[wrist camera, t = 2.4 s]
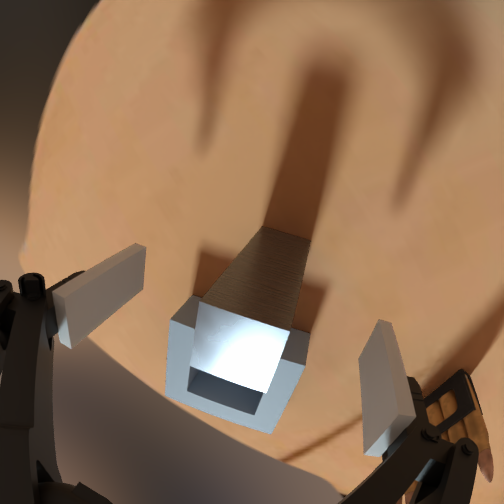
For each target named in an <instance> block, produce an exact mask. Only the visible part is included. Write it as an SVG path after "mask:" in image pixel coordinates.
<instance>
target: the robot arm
mask: <svg viewBox="0 0 504 504" xmlns="http://www.w3.org/2000/svg"><path fill="white" fill-rule="evenodd" d="M145 257H146V247H145V246H142V245H139V244H136V243H135V244H133V245H131V246H129V247H127V248H126V249H124V250H122V251H120V252H118V253H117V254H115V255H113V256H111V257H110V258H108V259H106V260H104V261H102V262H101V263H99V264H97V265H96V266H94V267H92V268H90V269H89V270H87V271H80V272H76V273H74V274H72V275H70V276H68V278H65V279H63V280H62V281H60V282H58V283H56V284H55V285H53V286H51V287H50V288H48V289H45V280H44V277H43V276H42V275H41V274H39V273H27V274H24V275H22V276H21V277H20V278H19V279H18V283H19V289H20V293H16V292H13V288H12V284H11V282H9V281H7V280H0V375H1V373H2V378H1V384H0V504H112V503H111V502H110V501H109V500H108V499H107V498H105V497H103V496H102V495H100V494H98V493H97V492H95V491H93V490H92V489H90V488H88V487H87V486H85V485H83V484H82V483H81V482H79V483H78V484H77V486H74V485H70V484H66V483H63V482H62V479H61V476H60V473H59V470H58V466H57V461H56V452H55V442H54V428H53V403H52V377H53V352H54V338H53V336H54V335H55V334H56V333H59V339H60V342H61V343H62V344H64V345H66V346H67V347H69V348H70V349H72V348H73V347H75V346H76V345H77V344H78V343H79V342H80V341H81V340H83V339H84V338H85V337H86V336H87V335H89V334H90V333H91V332H92V331H93V330H94V329H96V328H97V327H98V326H99V325H100V324H102V323H103V322H104V321H105V320H106V319H108V318H109V317H110V316H111V315H112V314H113V313H115V312H116V311H117V310H118V309H119V308H121V307H122V306H123V305H124V304H126V303H127V302H128V301H129V300H130V299H132V298H133V297H134V296H135V295H136V294H138V293H139V292H140V291H141V290H143V284H144V269H145ZM2 370H3V372H2ZM359 370H360V383H361V397H362V416H363V446H364V455H369V456H377V457H380V456H381V455H382V454H383V453H384V452H385V451H386V450H387V453H388V457H387V458H386V459H385V460H384V461H383V462H382V463H381V464H380V465H379V466H378V467H377V468H376V469H375V470H374V471H373V472H372V473H371V474H370V475H369V476H368V477H367V478H366V479H365V480H364V481H363V482H362V483H361V484H359V485H358V486H357V487H356V488H355V489H354V490H353V491H352V492H351V493H349V494H348V495H347V496H346V497H345V498H344V499H342V500H341V501H340V502H339V503H338V504H396V503H397V502H398V500H399V499H400V498H401V497H402V496H403V494H404V493H405V492H406V491H407V490H408V488H409V487H410V486H411V484H412V483H413V482H414V481H415V480H416V481H418V483H417V485H416V488H415V490H414V493H413V495H412V498H411V500H410V502H409V504H469V503H470V499H471V495H472V491H473V486H474V481H475V476H476V470H477V464H478V457H479V449H478V447H477V445H476V443H475V442H474V441H473V440H471V439H470V438H466V437H464V438H460V439H459V440H458V441H457V442H456V443H455V444H454V443H451V442H449V441H446V440H444V439H442V436H441V433H440V431H439V429H438V428H437V427H436V426H434V425H433V424H431V423H429V419H428V415H427V411H426V407H425V403H424V402H423V401H424V399H423V396H422V392H421V388H420V385H419V384H418V382H417V381H416V380H415V378H413V377H408V376H406V372H405V368H404V364H403V361H402V357H401V353H400V350H399V346H398V343H397V340H396V336H395V333H394V330H393V326H392V323H391V322H387V321H383V320H380V319H379V320H378V322H377V324H376V326H375V328H374V330H373V332H372V334H371V336H370V338H369V340H368V342H367V344H366V346H365V348H364V349H363V351H362V353H361V355H360V357H359Z"/></svg>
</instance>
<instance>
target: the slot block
mask: <svg viewBox="0 0 504 504" xmlns="http://www.w3.org/2000/svg"><path fill="white" fill-rule="evenodd" d="M201 299H202V298H200V297H197V296H194V295H192V296H191V297H190V298H189V299H188V300H187V301H186V302H185V303H184V305H183V306H182V307H181V308H180V309H179V310H178V311H177V312H176V313H175V315H174V316H173V317H172V318H171V319H170V327H169V339H168V353H167V369H166V388H165V396H167V397H169V398H172V399H174V400H176V401H179V402H181V403H183V404H186V405H188V406H191V407H193V408H196V409H198V410H201V411H203V412H206V413H208V414H211V415H214V416H216V417H219V418H222V419H225V420H228V421H231V422H233V423H236V424H239V425H242V426H246V427H249V428H252V429H255V430H258V431H262V432H265V433H268V434H272V432H273V430H274V428H275V426H276V424H277V422H278V420H279V418H280V417H281V415H282V413H283V411H284V409H285V407H286V405H287V403H288V401H289V399H290V397H291V395H292V393H293V391H294V389H295V387H296V385H297V382H298V380H299V378H300V376H301V374H302V372H303V370H304V368H305V365H306V358H307V352H308V346H309V339H310V333H307V332H303V331H300V330H297V329H294V328H291V330H290V333H289V336H288V338H287V341H286V344H285V346H284V349H283V352H282V354H281V357H280V359H279V362H278V364H277V367H276V370H275V372H274V375H273V377H272V380H271V382H270V385H269V387H268V390H267V392H266V393H265V392H261V391H258V390H255V389H252V388H249V387H246V386H243V385H240V384H237V383H234V382H231V381H229V380H226V379H223V378H220V377H218V376H215V375H212V374H210V373H207V372H204V371H202V370H199V369H197V368H194V367H192V366H190V362H191V354H192V347H193V340H194V333H195V327H196V320H197V313H198V307H199V301H200V300H201Z"/></svg>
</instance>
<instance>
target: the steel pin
mask: <svg viewBox="0 0 504 504" xmlns="http://www.w3.org/2000/svg"><path fill="white" fill-rule="evenodd" d="M310 242H311V241H310V240H307V239H304V238H300V237H297V236H294V235H290V234H287V233H284V232H280V231H277V230H274V229H270V228H267V227H263V226H262V227H261V228H260V230H259V231H258V232H257V233H256V234H255V235H254V237H253V238H252V239H251V240H250V241H249V243H248V244H247V245H246V246H245V247H244V249H243V250H242V251H241V252H240V253H239V254H238V256H237V257H236V258H235V259H234V260H233V262H232V263H231V264H230V265H229V266H228V268H227V269H226V270H225V271H224V272H223V274H222V275H221V276H220V277H219V278H218V280H217V281H216V282H215V283H214V284H213V286H212V287H211V288H210V289H209V290H208V292H207V293H206V294H205V295H204V296H203V298H202V299H201V300H200V301H199V307H198V313H197V320H196V327H195V333H194V340H193V347H192V354H191V362H190V366H192V367H194V368H197V369H199V370H202V371H204V372H207V373H210V374H212V375H215V376H218V377H220V378H223V379H226V380H229V381H231V382H234V383H237V384H240V385H243V386H246V387H249V388H252V389H255V390H258V391H261V392H265V393H266V392H267V390H268V387H269V385H270V382H271V380H272V377H273V375H274V372H275V370H276V367H277V364H278V362H279V359H280V357H281V354H282V352H283V349H284V346H285V344H286V341H287V338H288V336H289V333H290V330H291V326H292V322H293V317H294V313H295V309H296V305H297V301H298V297H299V292H300V288H301V284H302V279H303V275H304V270H305V266H306V261H307V257H308V252H309V247H310Z"/></svg>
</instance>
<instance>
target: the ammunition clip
mask: <svg viewBox="0 0 504 504" xmlns="http://www.w3.org/2000/svg"><path fill="white" fill-rule="evenodd" d="M423 402H424V403H425V407H426V411H427V415H428V419H429V423H431V424H433V425H434V426H436V427H437V428H438V429H439V431H440V433H441V436H442V439H444V440H446V441H449V442H451V443H454V444H455V443H456V442H457V441H458V440H459V439H460V438H464V437H466V438H470V439H471V440H473V441H474V442H475V443H476V445H477V447H478V449H479V457H478V464H479V467H480V470H481V472H482V474H483V476H484V477H485V479H486V480H487V481H488V482H489V483H490V482H491V481H492V478H493V458H492V454H491V449H490V444H489V436H488V431H487V428H486V425H485V422H484V419H483V416H482V415H483V414H482V410H481V407H480V404H479V401H478V397H477V394H476V391H475V388H474V385H473V382H472V380H471V377H470V376H469V375H468V374H467V373H466V372H465V371H464V370H463V369H461V370H459V371H458V372H456V373H455V374H454V375H453V376H452V377H451V378H449V379H448V380H447V381H446V382H445V383H443V384H442V385H441V386H440V387H439V388H437V389H436V390H435V391H434V392H432V393H431V394H430V395H428V396H427V397H426V398H425V399H424V401H423ZM387 457H388V453H387V450H386V451H385V452H384V453H383V454H382V460H383V461H384V460H385V459H386V458H387ZM417 483H418V481H416V480H415V481H414V482H413V483H412V484H411V486H410V487H409V488H408V490H407V491H406V492H405V502H406V504H409V502H410V500H411V498H412V495H413V493H414V490H415V488H416V485H417ZM396 504H402V497H401V498H400V499H399V500H398V502H397V503H396Z"/></svg>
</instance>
